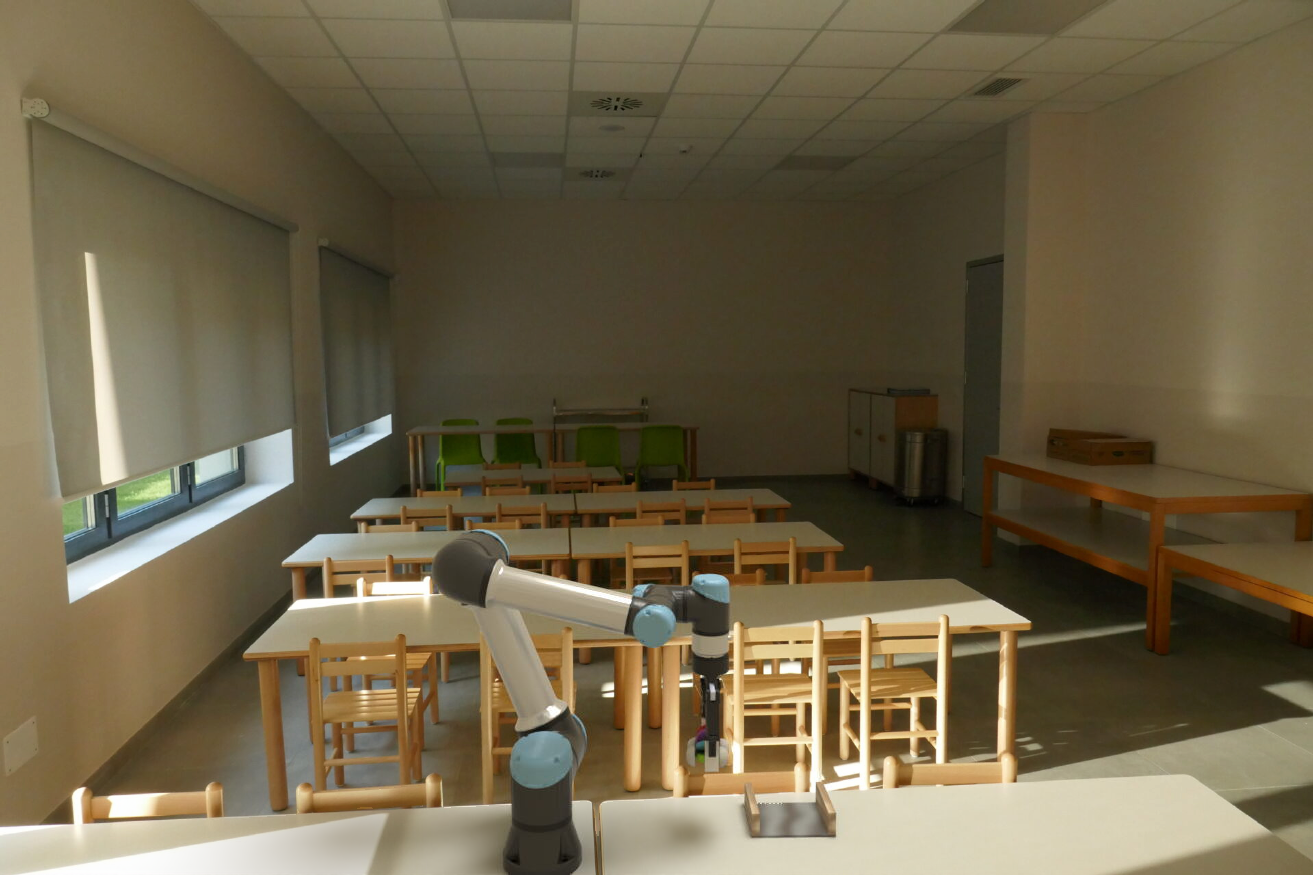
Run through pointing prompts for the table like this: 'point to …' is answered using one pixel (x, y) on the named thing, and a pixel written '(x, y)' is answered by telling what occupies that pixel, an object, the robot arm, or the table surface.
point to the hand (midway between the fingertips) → (709, 759)
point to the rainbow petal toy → (698, 749)
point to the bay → (791, 816)
